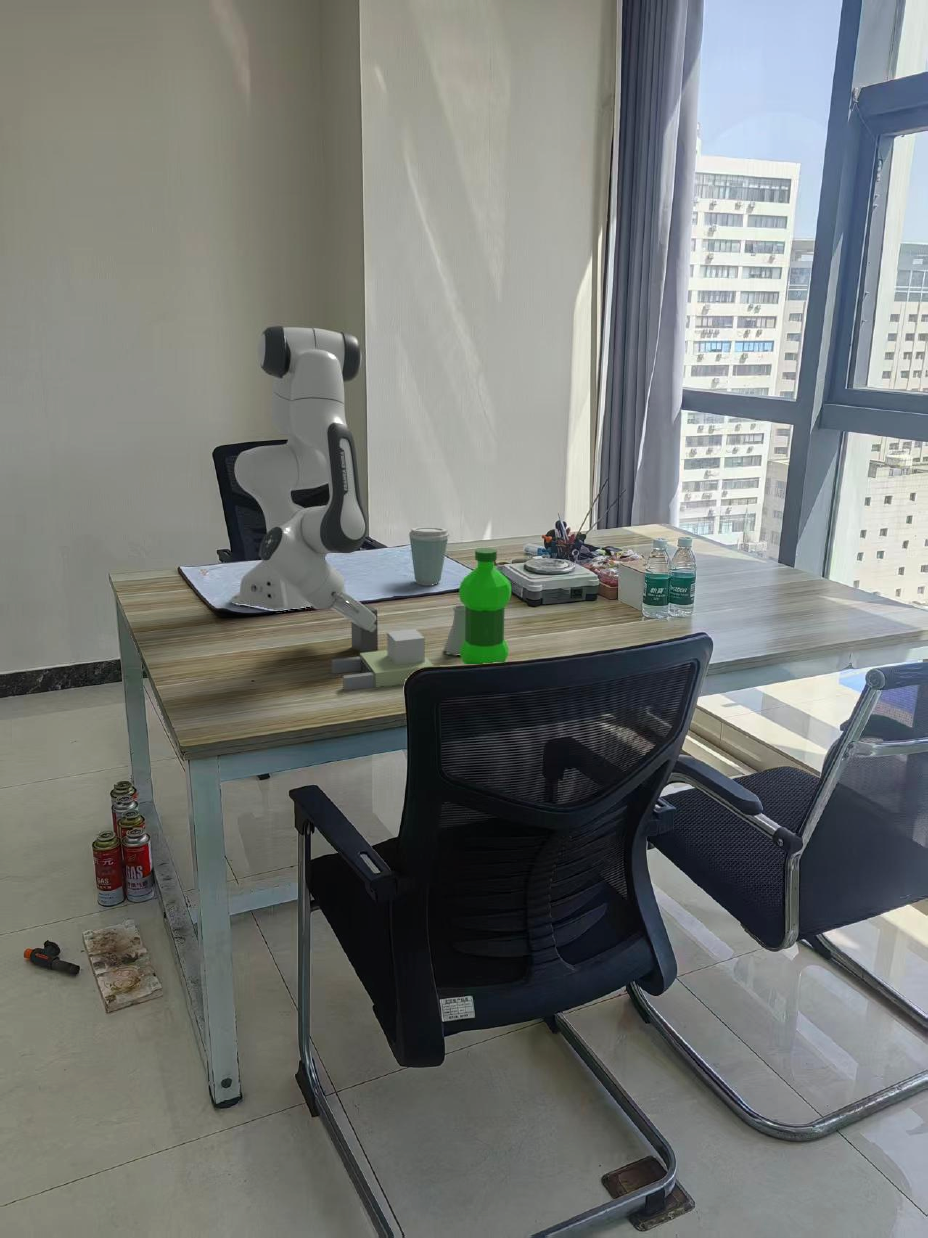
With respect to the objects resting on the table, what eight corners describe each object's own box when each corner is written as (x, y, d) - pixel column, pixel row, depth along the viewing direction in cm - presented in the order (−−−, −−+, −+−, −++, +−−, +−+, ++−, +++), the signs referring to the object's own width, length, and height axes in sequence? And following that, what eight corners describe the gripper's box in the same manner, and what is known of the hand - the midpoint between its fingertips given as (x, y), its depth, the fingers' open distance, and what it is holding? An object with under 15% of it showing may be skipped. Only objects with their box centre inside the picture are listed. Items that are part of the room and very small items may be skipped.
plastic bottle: (455, 676, 197) (456, 555, 190) (464, 659, 207) (465, 543, 199) (505, 680, 196) (507, 558, 188) (511, 662, 205) (514, 545, 198)
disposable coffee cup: (407, 577, 267) (407, 523, 263) (447, 577, 269) (447, 523, 264) (410, 588, 257) (409, 532, 253) (451, 587, 259) (451, 531, 254)
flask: (442, 646, 215) (442, 602, 212) (475, 645, 215) (475, 601, 212) (444, 657, 208) (444, 612, 205) (478, 656, 209) (479, 611, 206)
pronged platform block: (345, 691, 189) (344, 652, 187) (331, 670, 200) (330, 633, 198) (434, 680, 195) (434, 642, 193) (415, 660, 206) (415, 624, 204)
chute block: (361, 653, 210) (360, 612, 207) (351, 647, 214) (350, 607, 211) (377, 650, 212) (377, 610, 209) (368, 644, 216) (367, 604, 213)
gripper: (354, 588, 196) (398, 626, 204) (313, 565, 212) (355, 601, 220) (335, 612, 195) (380, 650, 203) (295, 587, 211) (338, 623, 219)
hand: (367, 625), depth 212 cm, fingers closed on chute block, 4 cm apart
